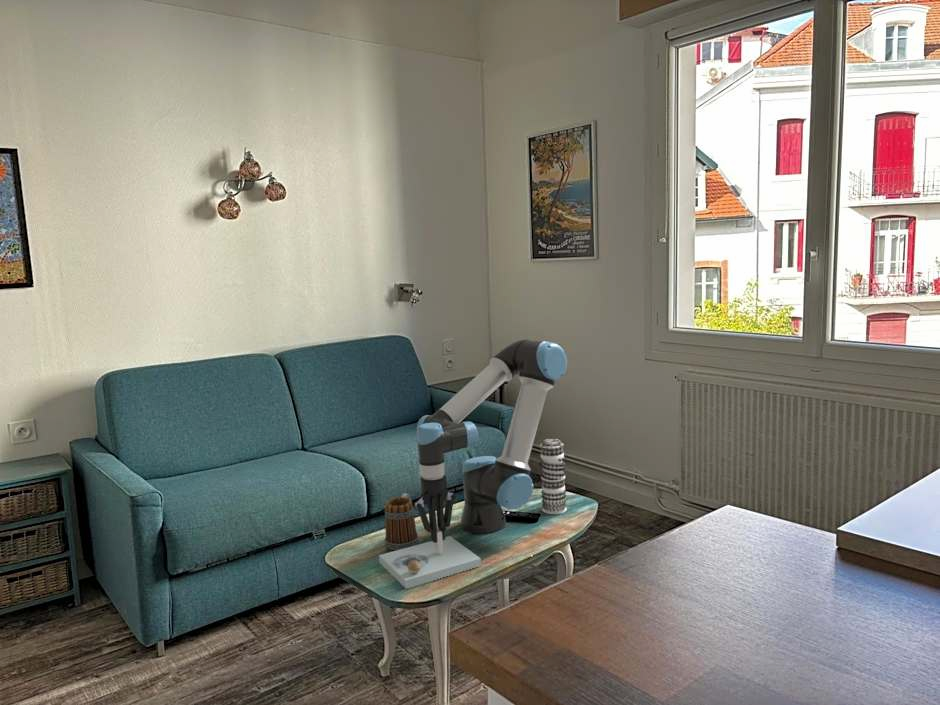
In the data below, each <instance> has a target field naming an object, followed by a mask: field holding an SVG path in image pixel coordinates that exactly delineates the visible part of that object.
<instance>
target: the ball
mask: <svg viewBox="0 0 940 705" xmlns="http://www.w3.org/2000/svg"><path fill="white" fill-rule="evenodd" d="M413 560H416V561H418V560H417V559H416V558H410V559H408V561H407V566H408V564H409V562H411V561H413Z"/></svg>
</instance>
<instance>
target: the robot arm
mask: <svg viewBox="0 0 940 705" xmlns="http://www.w3.org/2000/svg"><path fill="white" fill-rule="evenodd" d="M567 366H568V359H567V355H566V354H565V350H564V349H563V348H562V346H560V345H559V344H557V343H555V342H551V341H542V340H541V341H540V340H531V339H519V340H516V341H515V342H514V341H513V342H512V343H510V344H509V345H507V346H505V347H504V348H502V349H501V350H500V351H499V352H497V353H496V354H495V355H494V356H493V357H491V358H490V359H489V365H487V366H486V367H485V368H484V369H482V370H481V371H480V372H479V373H478V374H477V375H476V376H475V377H474V378H473V379H472V380H470V381H469V382H468V383H467V384H466V385H465V386H463V388H462V389H460V390H459V391H458V392H457V393H456V394H455V395H454V396H452V398H450V399H449V400H448V401H447V402H446V403H445V404H443V405H442V407H440V408H439V409H438V410H437V411H436V412H434V413H433V414H429V415H428V414H427V415H426V414H425V415H423V416H422V417H421V418H419V420H418V422H417V425H416V443H417V452H418V453H417V456H418V462H419V463H418V464H419V466H418V467H419V476H420V488H421V494H420V498H419V500H418V501H414V503H413V505H414V507H415V508H416V509H417V511H418V513H419V514H418V515H419V516H420V520H421V523H422V526H423V528H424V530H425V531H426V532H427V533H430V534H431V535H430V537H431V538H430V539H431V541H432V542H434V543H435V551H437V552H438V553H443V540H445V537H446V533H445V532H446V531H447V528H450V526H451V521H452V514H453V507H454V506H453V505H454V502H455V500H456V494H454V493H453V492H449V490H448V489H447V485H448V484H447V476H446V462H445V461H446V460H445V454H447V453H451V452H455V451H458V450H463V449H467V448H469V447H472V446H474V445H475V444H477V442H478V440H479V431H478V428H477V426H476V424H475V423H473V421H463V420H464V419H465V418H466V417H468V415H470V414H471V413H472V412H473V411H474V410H475V409H476V408H477V407H478V406H479V405H480V404H482V403H483V401H485V400H486V399H487V398H488V397H490V395H491V394H493V393H494V392H495V391H496V390H497V389H498V388H499V387H500V386H501V385H502V384H504V382H510V381H512V379H514V378H515V377H516V376H518V379H519V380H520V383H521V385H520V389H519V393H518V397H517V399H516V403H515V406H514V410H513V414H512V417H511V420H510V421H511V422H510V425H509V429H508V430H507V431H508V433H507V435H506V438H505V443H504V447H503V448H502V449H503V450H502V454H501V456H499V457H496V456H494V455H483V456H475V457H471V458H468V459H466V460H465V461H463V463H462V472H461V473H462V481H463V483H462V484H463V498H464V505H463V508H462V511H461V512H462V513H461V517H460V528H461V529H462V530H464V531H466V532H467V533H472V534H489V533H494V532H497V531H499V530H502V529H503V528H505V527H506V524H507V523H506V520H507V519H506V516H505V515H506V514H505V513H504V510H503V508H506V509H509V510H517V509H520V508H522V507H523V506H524V505H526V504H527V503H528V502H529V501H530V499H531V497H532V496H533V491H534V483H533V480H532V478H531V477H530V474H531V470H532V469H531V467H530V465H529V461H530V455H531V453H532V448H533V445H534V441H535V439H536V438H535V437H536V434H537V430H538V426H539V423H540V419H541V416H542V413H543V410H544V409H543V408H544V406H545V401H546V399H547V394H548V391H549V390H551V389H553V388H554V387H555V384H556V381H557V380H560V379H561V378H562V377H563V376H564V375H565V374H566V371H567ZM424 503H425V505H426V507H427V510H428V515H427V513H426V510H425V505H424ZM444 503H445V504H444Z"/></svg>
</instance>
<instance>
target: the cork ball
mask: <svg viewBox="0 0 940 705" xmlns="http://www.w3.org/2000/svg"><path fill="white" fill-rule="evenodd" d="M408 570H409V572H410V573H413V574H415V573H418V572H419V570H420V563H419V562H418V561H416V560H413V561H411V562H409V564H408Z"/></svg>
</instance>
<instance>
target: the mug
mask: <svg viewBox="0 0 940 705" xmlns="http://www.w3.org/2000/svg"><path fill="white" fill-rule="evenodd" d="M414 513H415V510H414V506H413V502H412V499H411V494H409V493H406V492H405V493H402V495H401V496H400V497H397V496H396V497H393V498H390V499H388V500H386V502H385V509H384V516H385V537H384V545H385V549H386V550H387V551H389V552H393V551H396V550H400V549H404V548H408V547H411V546H415V545H419V536H418V533H417V528H416V527H417V526H416V521H415V514H414Z"/></svg>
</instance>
